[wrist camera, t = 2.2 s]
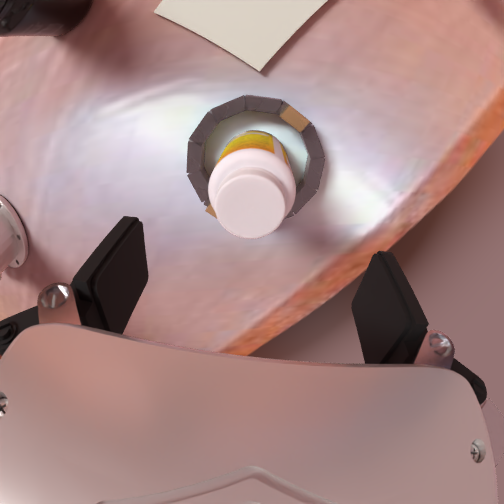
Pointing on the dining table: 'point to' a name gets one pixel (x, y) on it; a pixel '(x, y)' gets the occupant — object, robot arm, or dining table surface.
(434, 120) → the dining table surface
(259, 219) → the supplement bottle
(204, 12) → the coaster
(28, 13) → the supplement bottle
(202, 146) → the collar
